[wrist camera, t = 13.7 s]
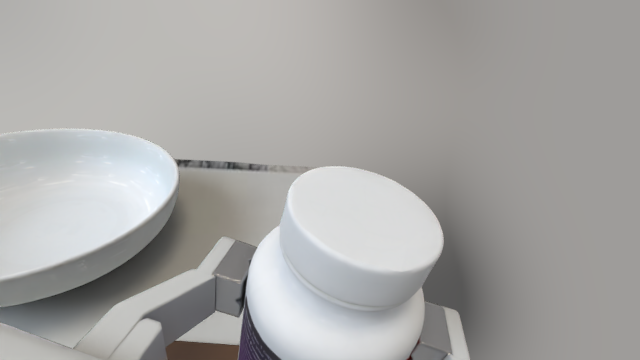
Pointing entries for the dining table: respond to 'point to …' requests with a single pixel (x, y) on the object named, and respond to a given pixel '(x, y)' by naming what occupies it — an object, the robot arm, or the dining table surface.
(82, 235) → the serving bowl
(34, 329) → the dining table surface
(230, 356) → the word board
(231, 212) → the dining table surface
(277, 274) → the pill bottle
